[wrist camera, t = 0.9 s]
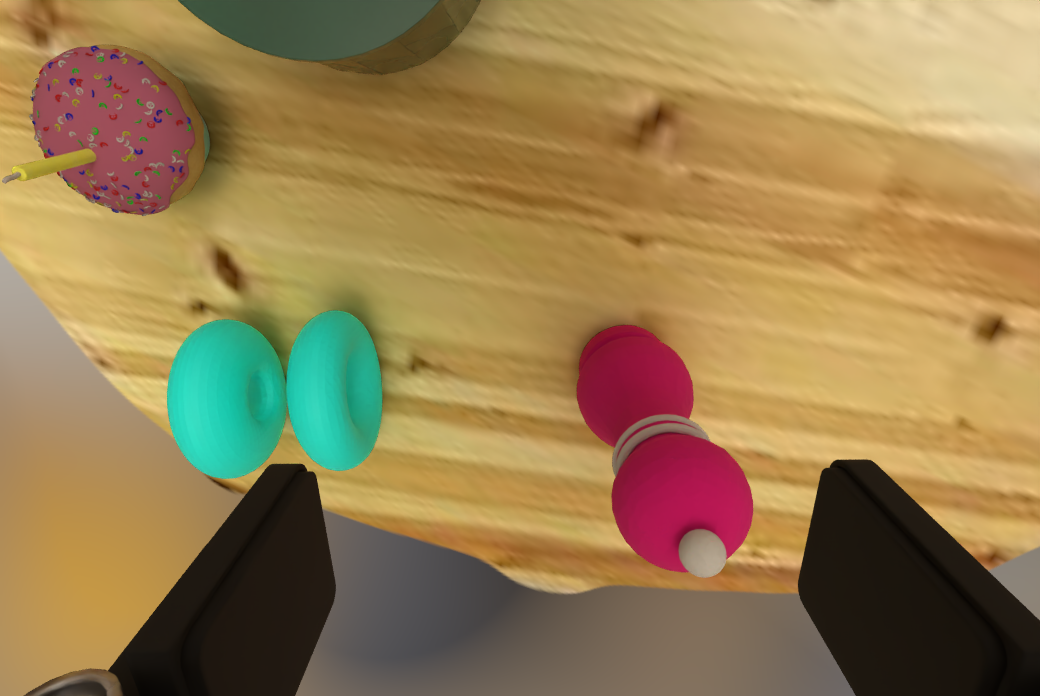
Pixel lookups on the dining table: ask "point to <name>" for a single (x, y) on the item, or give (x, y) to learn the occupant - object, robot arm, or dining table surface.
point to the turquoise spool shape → (275, 395)
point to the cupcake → (116, 129)
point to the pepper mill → (661, 455)
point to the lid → (314, 25)
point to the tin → (415, 41)
